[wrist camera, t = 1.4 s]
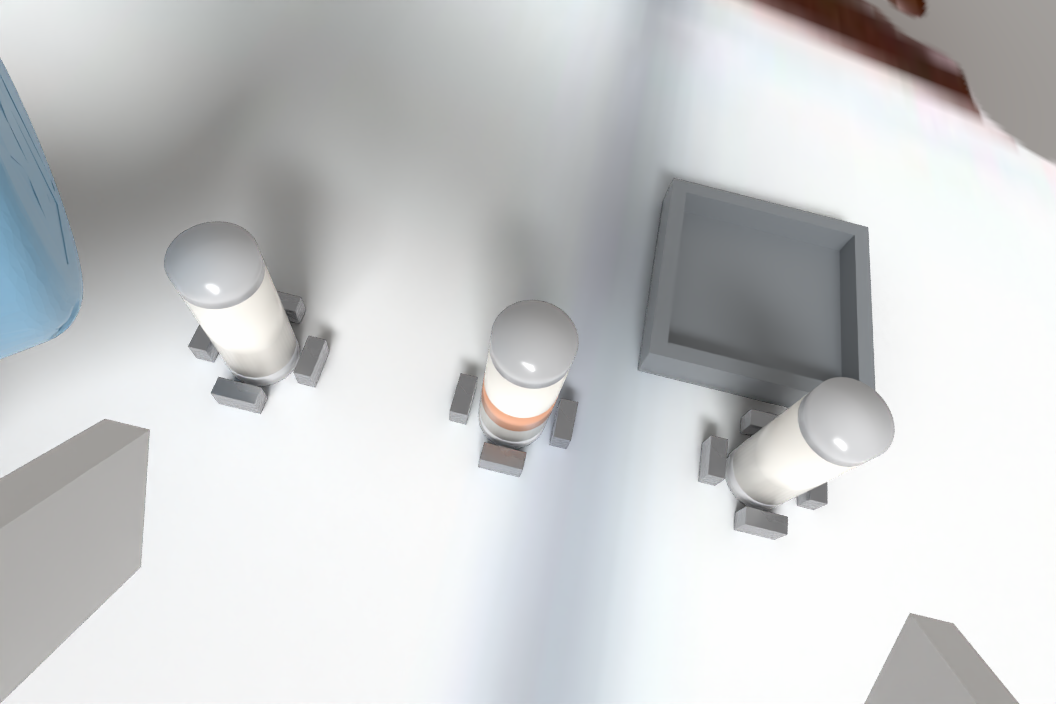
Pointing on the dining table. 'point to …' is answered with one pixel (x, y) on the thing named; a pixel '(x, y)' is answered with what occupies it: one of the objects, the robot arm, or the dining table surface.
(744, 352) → the charcoal tray
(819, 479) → the plain fuse
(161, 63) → the dining table surface
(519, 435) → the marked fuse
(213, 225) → the plain fuse
